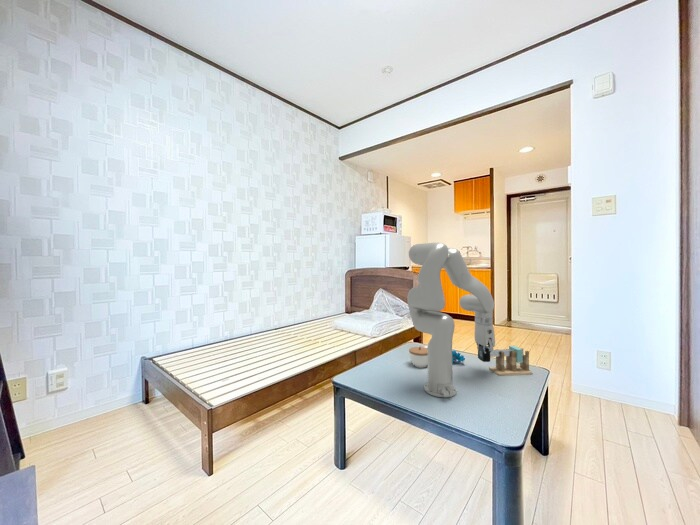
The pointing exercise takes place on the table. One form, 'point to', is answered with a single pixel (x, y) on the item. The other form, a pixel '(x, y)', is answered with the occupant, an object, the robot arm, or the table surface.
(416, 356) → the lidded jar
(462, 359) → the blue coral
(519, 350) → the block
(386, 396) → the table surface
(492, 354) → the grey mallet
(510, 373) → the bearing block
